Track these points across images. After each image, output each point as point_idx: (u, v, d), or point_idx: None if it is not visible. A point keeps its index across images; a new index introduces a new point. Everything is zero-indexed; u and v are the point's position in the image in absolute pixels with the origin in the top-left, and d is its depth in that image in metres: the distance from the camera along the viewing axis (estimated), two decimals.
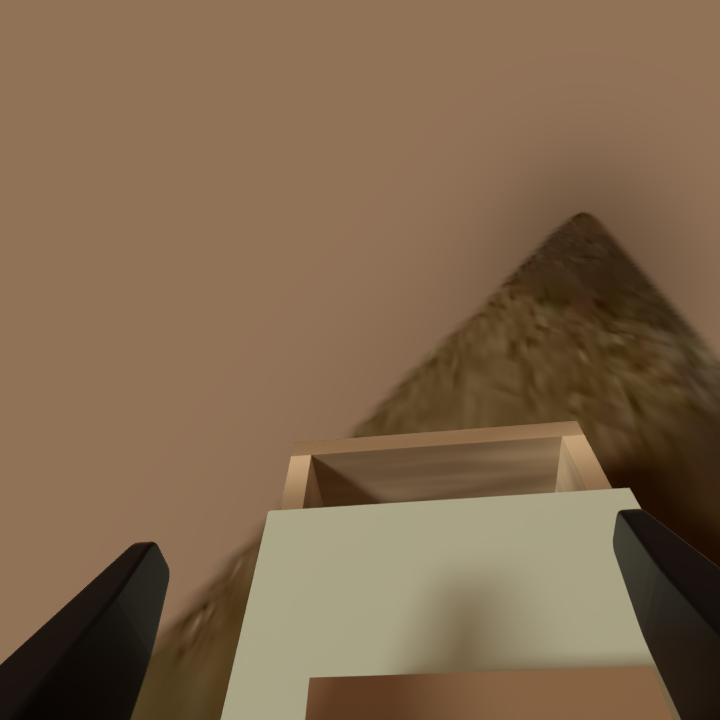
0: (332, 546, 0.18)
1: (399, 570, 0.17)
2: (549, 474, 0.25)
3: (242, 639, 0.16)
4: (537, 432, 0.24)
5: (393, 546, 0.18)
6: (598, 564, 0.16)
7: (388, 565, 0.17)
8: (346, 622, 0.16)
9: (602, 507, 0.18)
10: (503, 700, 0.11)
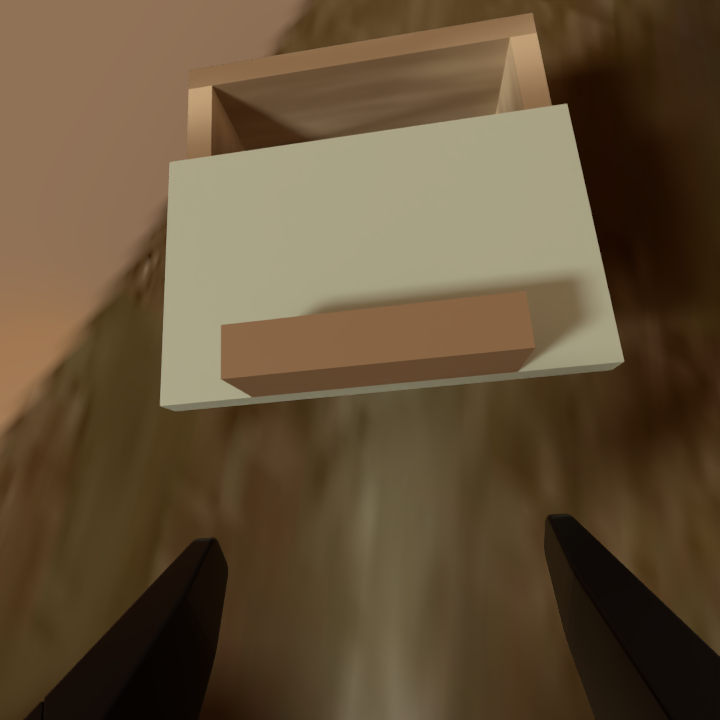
0: (243, 196, 0.17)
1: (312, 215, 0.17)
2: (491, 88, 0.22)
3: (167, 292, 0.17)
4: (481, 33, 0.19)
5: (306, 191, 0.17)
6: (512, 194, 0.16)
7: (301, 211, 0.17)
8: (263, 269, 0.16)
9: (531, 130, 0.17)
10: (391, 328, 0.13)
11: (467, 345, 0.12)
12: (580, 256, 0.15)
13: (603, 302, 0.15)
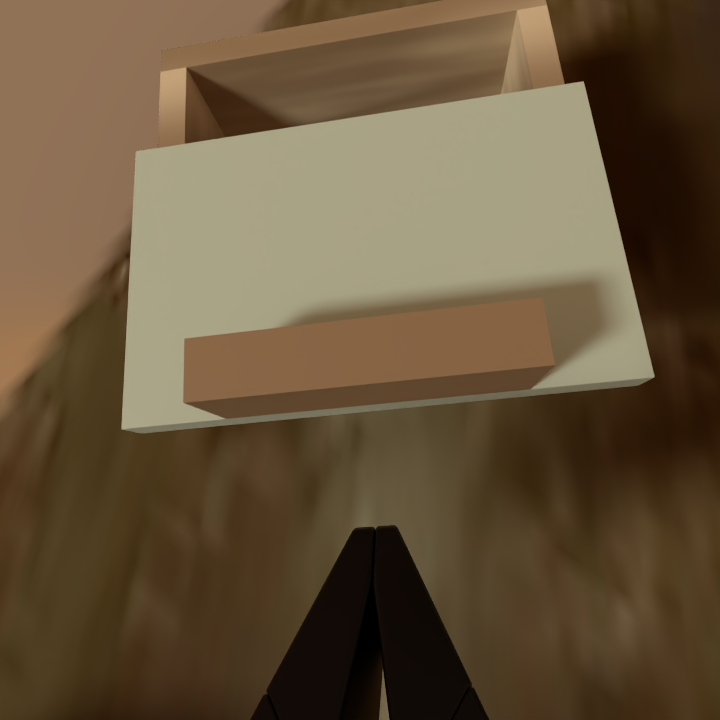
0: (217, 189, 0.15)
1: (296, 210, 0.15)
2: (495, 70, 0.20)
3: (131, 298, 0.15)
4: (485, 6, 0.17)
5: (288, 183, 0.15)
6: (522, 184, 0.14)
7: (283, 206, 0.15)
8: (239, 272, 0.15)
9: (543, 111, 0.15)
10: (383, 342, 0.11)
11: (473, 363, 0.10)
12: (602, 255, 0.13)
13: (629, 308, 0.13)
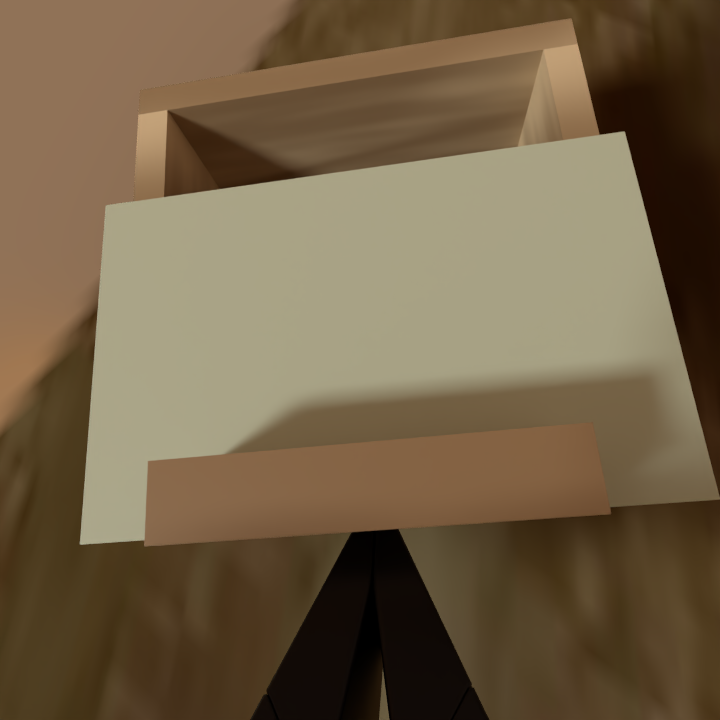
0: (198, 252, 0.13)
1: (288, 279, 0.13)
2: (516, 111, 0.18)
3: (96, 382, 0.13)
4: (507, 44, 0.15)
5: (280, 247, 0.13)
6: (554, 254, 0.12)
7: (274, 274, 0.13)
8: (222, 353, 0.12)
9: (578, 167, 0.13)
10: (393, 475, 0.09)
11: (507, 508, 0.08)
12: (651, 343, 0.11)
13: (686, 410, 0.11)
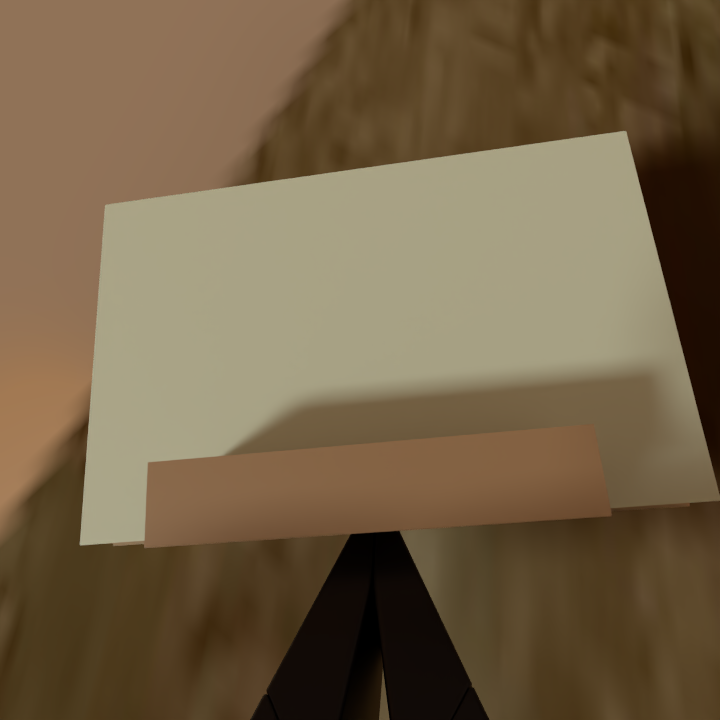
0: (198, 252, 0.13)
1: (288, 279, 0.13)
2: None
3: (95, 382, 0.13)
4: None
5: (280, 246, 0.13)
6: (555, 254, 0.12)
7: (274, 274, 0.13)
8: (222, 353, 0.12)
9: (579, 166, 0.12)
10: (394, 476, 0.09)
11: (507, 509, 0.08)
12: (652, 344, 0.11)
13: (687, 411, 0.11)
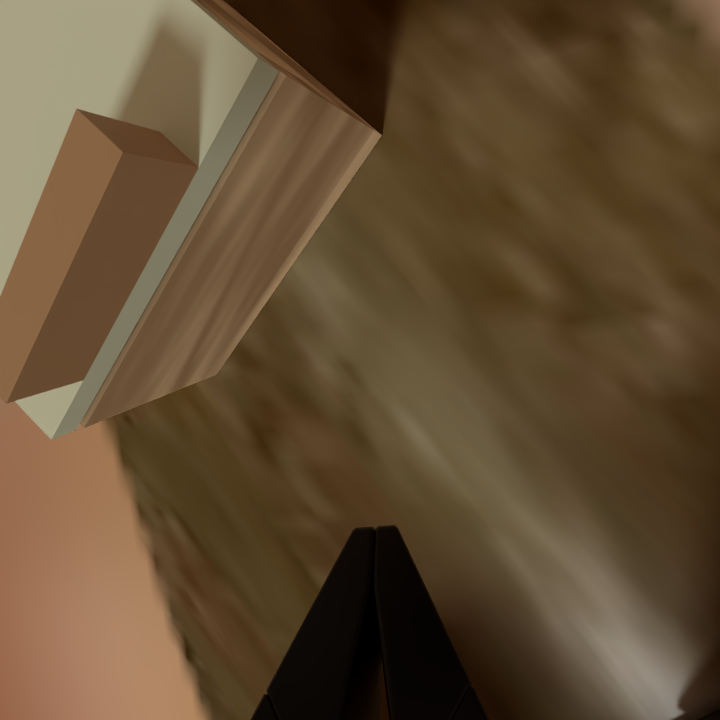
0: None
1: None
2: None
3: None
4: None
5: None
6: (59, 4, 0.13)
7: None
8: (2, 282, 0.16)
9: None
10: (41, 253, 0.12)
11: (87, 208, 0.11)
12: None
13: (199, 19, 0.12)
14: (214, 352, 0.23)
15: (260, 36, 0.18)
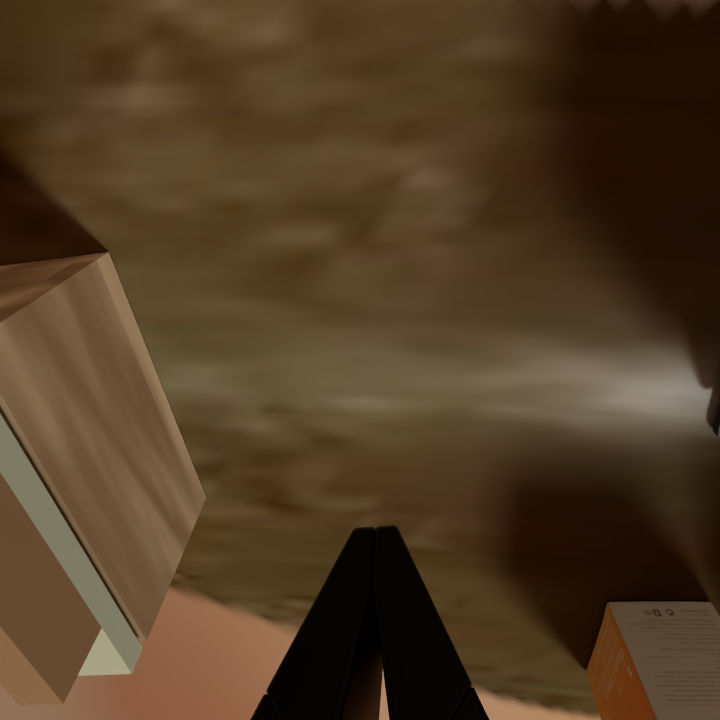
0: None
1: None
2: None
3: None
4: None
5: None
6: None
7: None
8: None
9: None
10: None
11: None
12: None
13: None
14: (182, 494, 0.25)
15: None
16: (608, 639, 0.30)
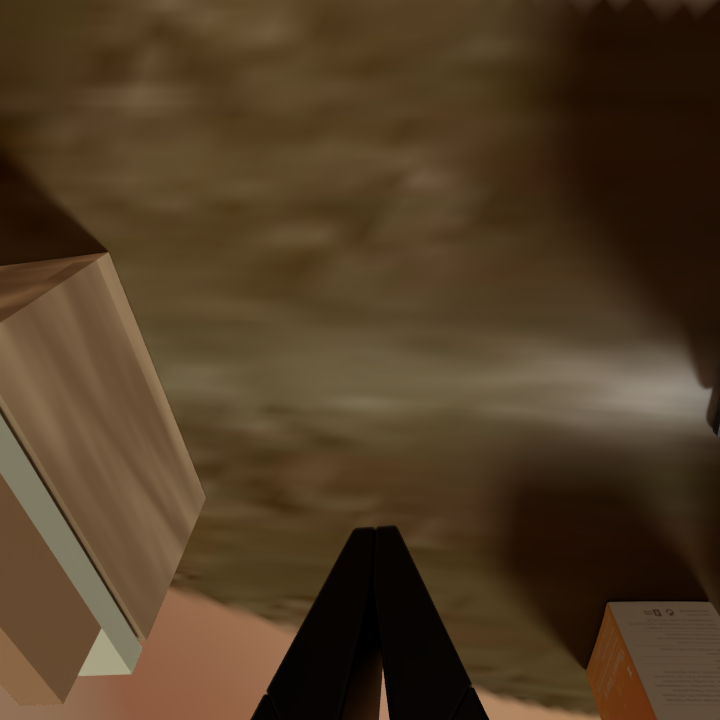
0: None
1: None
2: None
3: None
4: None
5: None
6: None
7: None
8: None
9: None
10: None
11: None
12: None
13: None
14: (182, 494, 0.25)
15: None
16: (608, 639, 0.30)
